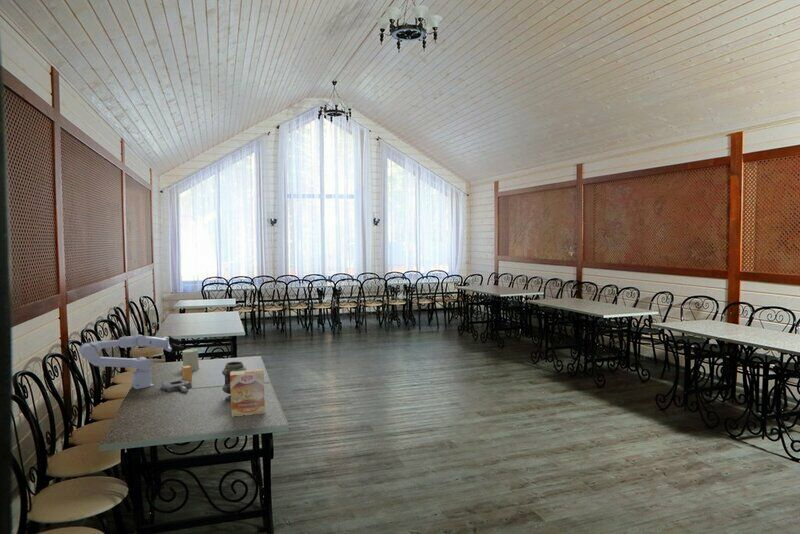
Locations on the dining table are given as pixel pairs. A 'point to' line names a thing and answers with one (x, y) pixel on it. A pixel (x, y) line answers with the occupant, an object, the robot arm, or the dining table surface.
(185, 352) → the can
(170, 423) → the dining table surface
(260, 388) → the coffeecake box
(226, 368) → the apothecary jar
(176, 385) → the bracket head
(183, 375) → the tan cardboard box
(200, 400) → the dining table surface
